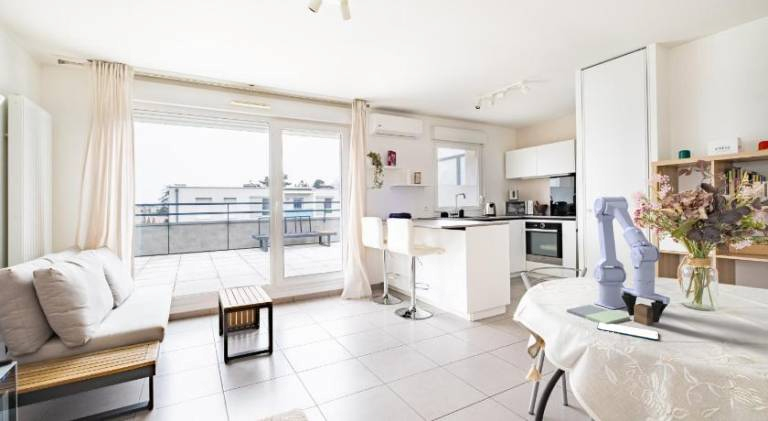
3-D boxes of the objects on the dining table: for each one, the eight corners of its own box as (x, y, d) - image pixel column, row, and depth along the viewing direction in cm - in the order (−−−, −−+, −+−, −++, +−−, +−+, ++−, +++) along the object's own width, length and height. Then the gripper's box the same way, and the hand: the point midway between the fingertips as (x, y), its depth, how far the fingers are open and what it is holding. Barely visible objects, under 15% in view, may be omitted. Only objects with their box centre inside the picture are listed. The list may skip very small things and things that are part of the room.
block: (640, 320, 120) (641, 303, 120) (653, 323, 117) (653, 306, 117) (633, 321, 119) (634, 305, 119) (646, 325, 115) (646, 308, 115)
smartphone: (596, 331, 113) (658, 342, 103) (596, 328, 113) (658, 339, 103) (599, 323, 119) (658, 334, 109) (599, 321, 119) (658, 331, 109)
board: (589, 307, 135) (589, 304, 135) (629, 319, 121) (629, 316, 121) (566, 312, 130) (566, 309, 130) (605, 325, 116) (605, 322, 116)
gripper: (615, 276, 122) (614, 313, 123) (661, 286, 109) (660, 327, 110) (627, 274, 125) (627, 311, 126) (673, 283, 112) (673, 324, 112)
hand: (643, 318), depth 118 cm, fingers open, 7 cm apart
